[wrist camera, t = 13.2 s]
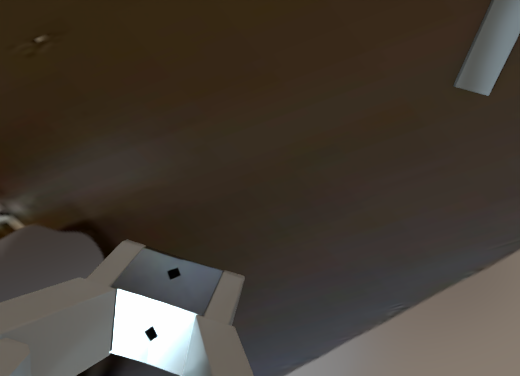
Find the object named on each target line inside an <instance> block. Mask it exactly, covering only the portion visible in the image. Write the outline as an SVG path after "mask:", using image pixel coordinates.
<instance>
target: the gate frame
mask: <svg viewBox="0 0 520 376" xmlns="http://www.w3.org/2000/svg"><path fill="white" fill-rule="evenodd" d="M519 33H520V0H492V1H491V3H490V5H489V8H488V10H487V12H486V14H485V17H484V19H483V21H482V23H481V25H480V28H479V30H478V32H477V34H476V36H475V39H474V41H473V43H472V45H471V48H470V50H469V52H468V54H467V56H466V59H465V61H464V63H463V65H462V68H461V70H460V72H459V74H458V76H457V79H456V81H455V83H454V85H453V86H455V87H458V88H462V89H465V90H469V91H473V92H476V93H480V94H484V95H488V96H489V94H490V92H491V90H492V88H493V86H494V84H495V82H496V80H497V78H498V76H499V74H500V72H501V70H502V68H503V66H504V64H505V62H506V60H507V58H508V56H509V54H510V52H511V50H512V48H513V46H514V44H515V42H516V40H517V38H518V36H519Z"/></svg>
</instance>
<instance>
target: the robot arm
mask: <svg viewBox="0 0 520 376" xmlns="http://www.w3.org/2000/svg"><path fill="white" fill-rule="evenodd" d="M244 279H245V277H244V276H243V275H239V274H236V273H232V272H229V271H223V270H220V269H216V268H213V267H210V266H207V265H203V264H200V263H197V262H193V261H190V260H187V259H184V258H182V257H179V256H176V255H173V254H170V253H167V252H164V251H161V250H158V249H155V248H152V247H149V246H145V245H142V244H139V243H136V242H133V241H130V240H125V241H123V242H121V243H120V244H119V245H118V246H117V247H116V248H115V249H114V251H113V252H112V253H111V254H110V255H109V256H108V257H107V258H106V259H105V260H104V261H103V262H102V263H101V264H100V265H99V266H98V267H97V268H96V269H95V270H94V271H93V272H92V273H91V274H90V275H89V276H88V277H87V278H86V279H83V278H76V279H73V280H70V281H67V282H63V283H60V284H57V285H54V286H51V287H48V288H45V289H41V290H38V291H35V292H32V293H29V294H26V295H23V296H20V297H17V298H14V299H10V300H7V301H4V302H1V303H0V376H76V375H78V374H79V373H81V372H83V371H84V370H86V369H87V368H89V367H91V366H92V365H94V364H95V363H97V362H99V361H100V360H102V359H104V358H105V357H107V356H108V355H110V352H111V353H114V354H118V355H121V356H124V357H128V358H131V359H134V360H138V361H141V362H144V363H147V364H150V365H153V366H156V367H158V368H161V369H164V370H167V371H169V372H172V373H175V374H178V375H180V376H254V375H253V373H252V370H251V368H250V365H249V362H248V360H247V357H246V355H245V352H244V350H243V347H242V345H241V342H240V340H239V337H238V334H237V332H236V329H235V327H233V326H232V322H233V319H234V315H235V312H236V308H237V305H238V301H239V297H240V294H241V290H242V287H243V283H244Z"/></svg>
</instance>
